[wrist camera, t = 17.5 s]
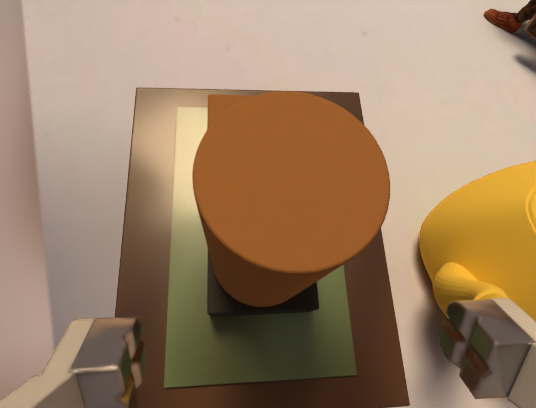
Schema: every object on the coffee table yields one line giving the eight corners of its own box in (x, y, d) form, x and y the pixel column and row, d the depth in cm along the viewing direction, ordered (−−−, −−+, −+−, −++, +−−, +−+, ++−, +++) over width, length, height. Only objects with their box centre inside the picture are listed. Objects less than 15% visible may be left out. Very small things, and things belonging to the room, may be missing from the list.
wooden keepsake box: (137, 404, 21) (102, 431, 15) (155, 138, 27) (135, 84, 21) (366, 388, 23) (412, 406, 17) (334, 139, 29) (360, 90, 23)
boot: (209, 316, 17) (178, 288, 7) (210, 136, 21) (191, -60, 10) (310, 311, 18) (419, 279, 8) (295, 137, 21) (355, -49, 11)
